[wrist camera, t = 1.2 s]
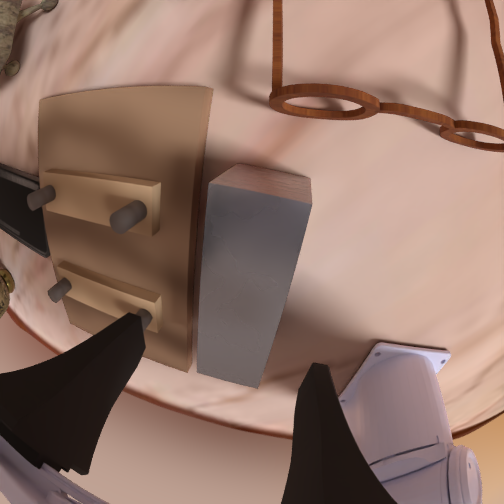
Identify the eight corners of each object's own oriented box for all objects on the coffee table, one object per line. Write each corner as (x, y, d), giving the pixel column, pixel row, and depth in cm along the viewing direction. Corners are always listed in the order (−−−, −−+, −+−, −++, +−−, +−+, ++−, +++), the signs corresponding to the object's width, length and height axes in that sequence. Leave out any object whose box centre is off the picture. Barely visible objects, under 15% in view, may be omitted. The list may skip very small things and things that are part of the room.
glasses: (275, 116, 13) (261, 114, 9) (271, -60, 7) (257, -103, 3) (483, 152, 11) (532, 170, 7) (466, -18, 5) (500, -40, 1)
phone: (-19, 159, 17) (43, 184, 17) (-12, 157, 18) (52, 180, 18) (-13, 219, 21) (50, 262, 21) (-7, 215, 22) (57, 256, 22)
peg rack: (191, 363, 23) (175, 398, 20) (76, 316, 24) (54, 340, 21) (213, 89, 13) (179, 80, 9) (50, 98, 14) (9, 104, 10)
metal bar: (269, 335, 20) (257, 388, 16) (218, 322, 20) (196, 372, 16) (310, 177, 14) (312, 204, 10) (238, 162, 15) (208, 182, 10)
